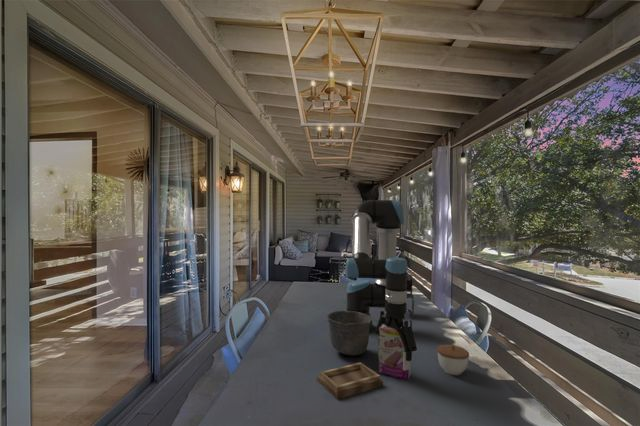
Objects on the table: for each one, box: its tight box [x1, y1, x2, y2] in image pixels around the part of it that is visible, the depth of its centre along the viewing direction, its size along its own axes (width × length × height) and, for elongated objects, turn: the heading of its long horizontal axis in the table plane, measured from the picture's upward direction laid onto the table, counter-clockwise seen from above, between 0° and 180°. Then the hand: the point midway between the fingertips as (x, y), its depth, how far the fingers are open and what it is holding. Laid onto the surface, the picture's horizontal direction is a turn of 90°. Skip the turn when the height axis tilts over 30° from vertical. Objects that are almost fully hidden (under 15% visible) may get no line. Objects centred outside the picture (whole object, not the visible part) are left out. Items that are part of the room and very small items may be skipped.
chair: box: [406, 273, 415, 319], centre depth 189 cm, size 13×17×22 cm
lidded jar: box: [437, 344, 470, 376], centre depth 119 cm, size 11×11×9 cm
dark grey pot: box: [326, 310, 373, 357], centre depth 133 cm, size 18×18×15 cm
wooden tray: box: [316, 361, 384, 400], centre depth 109 cm, size 18×13×3 cm
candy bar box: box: [377, 324, 412, 380], centre depth 116 cm, size 11×5×16 cm, turn 65°
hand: (394, 362), depth 116 cm, fingers closed on candy bar box, 11 cm apart
